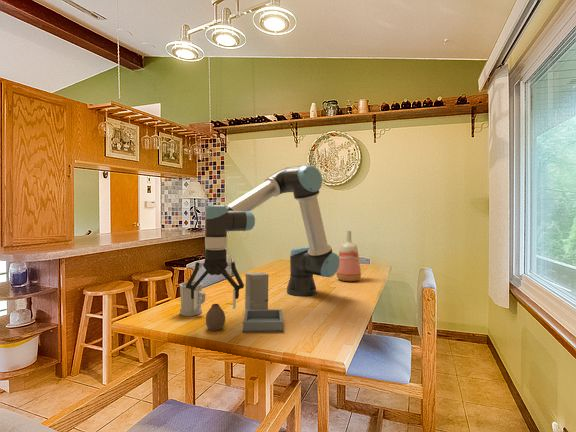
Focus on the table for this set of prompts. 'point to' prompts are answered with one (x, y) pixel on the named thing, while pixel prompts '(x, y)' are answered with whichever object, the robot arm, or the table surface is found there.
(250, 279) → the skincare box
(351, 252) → the pink tapered bottle
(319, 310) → the table surface
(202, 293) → the cup
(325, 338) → the table surface
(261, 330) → the bin
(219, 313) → the vase
